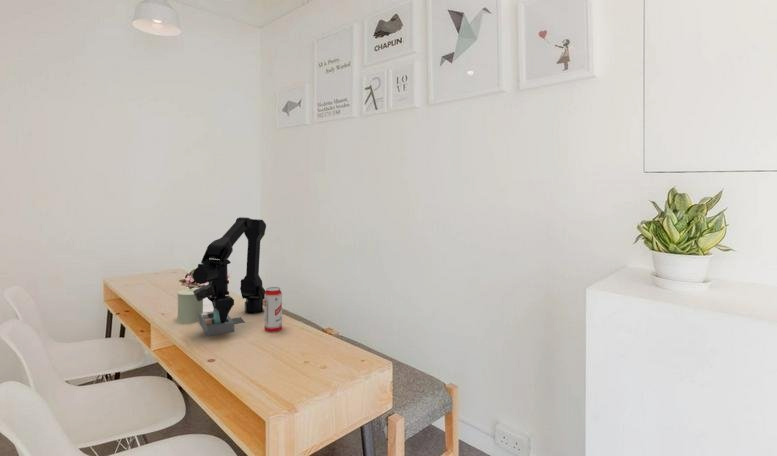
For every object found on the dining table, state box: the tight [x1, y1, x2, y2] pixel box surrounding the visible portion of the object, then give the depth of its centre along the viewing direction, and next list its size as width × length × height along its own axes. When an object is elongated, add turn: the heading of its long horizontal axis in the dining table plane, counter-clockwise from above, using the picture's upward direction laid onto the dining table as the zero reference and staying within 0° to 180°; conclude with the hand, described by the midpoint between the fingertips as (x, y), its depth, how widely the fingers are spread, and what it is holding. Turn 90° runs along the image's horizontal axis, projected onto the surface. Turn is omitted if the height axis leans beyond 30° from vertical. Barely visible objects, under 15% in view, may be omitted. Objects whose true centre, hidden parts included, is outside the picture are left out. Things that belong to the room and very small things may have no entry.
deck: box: [231, 316, 246, 325], centre depth 158 cm, size 6×7×1 cm
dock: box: [198, 311, 235, 337], centre depth 151 cm, size 9×17×5 cm, turn 34°
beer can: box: [264, 286, 283, 333], centre depth 150 cm, size 6×6×16 cm
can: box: [177, 288, 204, 324], centre depth 158 cm, size 9×9×12 cm
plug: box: [212, 308, 226, 324], centre depth 148 cm, size 4×4×8 cm
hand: (219, 319), depth 148 cm, fingers open, 9 cm apart
